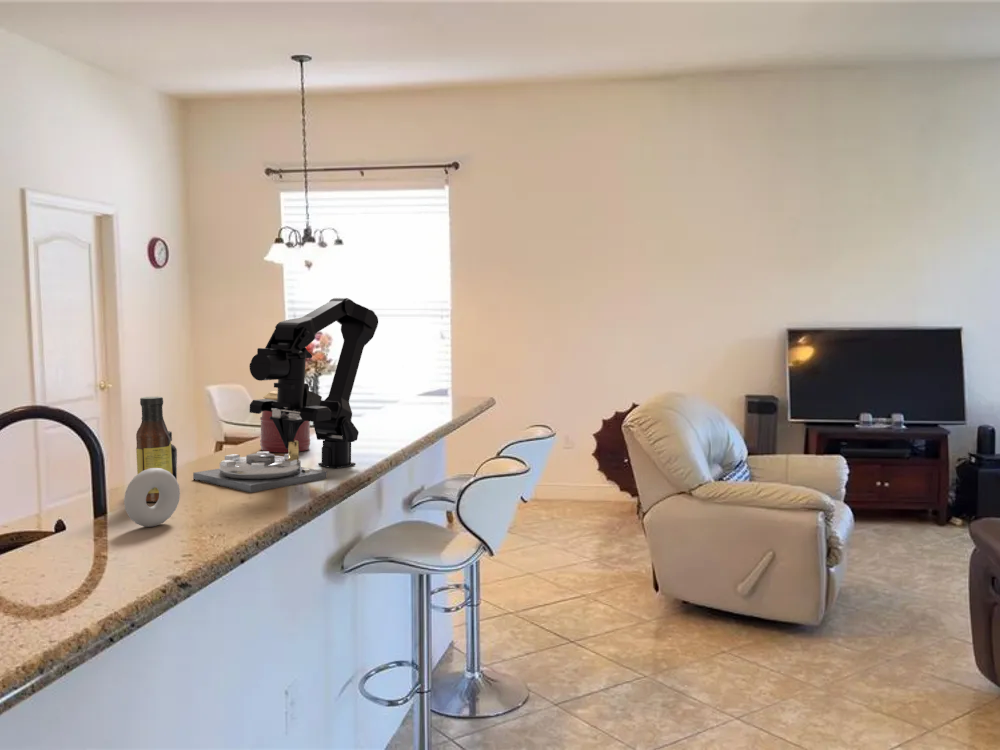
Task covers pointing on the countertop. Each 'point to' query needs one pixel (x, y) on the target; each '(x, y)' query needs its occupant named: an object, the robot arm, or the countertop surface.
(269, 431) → the canister
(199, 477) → the flat gray square plate
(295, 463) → the lugged silver disc
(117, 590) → the countertop surface
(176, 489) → the donut
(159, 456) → the sauce bottle
